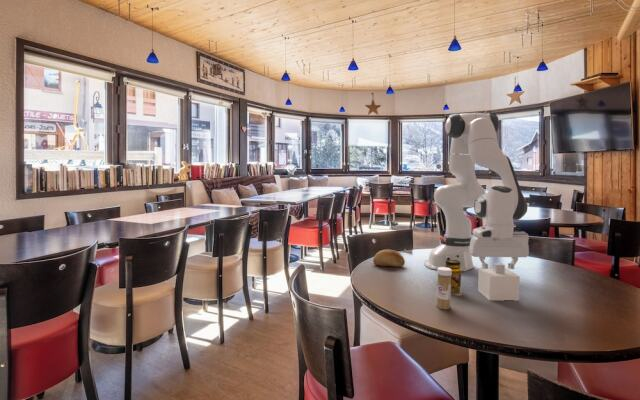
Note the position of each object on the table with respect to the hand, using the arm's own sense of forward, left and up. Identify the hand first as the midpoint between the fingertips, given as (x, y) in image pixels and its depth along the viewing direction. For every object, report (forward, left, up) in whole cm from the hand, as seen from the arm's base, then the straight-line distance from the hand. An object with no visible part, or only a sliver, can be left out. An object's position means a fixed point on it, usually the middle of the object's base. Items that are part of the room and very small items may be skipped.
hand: (497, 268), depth 135 cm
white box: (0, 0, -10) cm, 10 cm away
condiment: (-16, +4, -10) cm, 19 cm away
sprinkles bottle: (-23, -12, -10) cm, 28 cm away
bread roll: (-34, +39, -10) cm, 53 cm away
